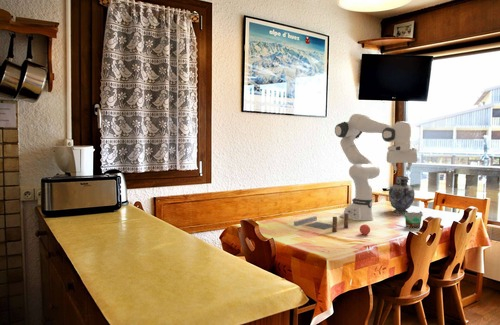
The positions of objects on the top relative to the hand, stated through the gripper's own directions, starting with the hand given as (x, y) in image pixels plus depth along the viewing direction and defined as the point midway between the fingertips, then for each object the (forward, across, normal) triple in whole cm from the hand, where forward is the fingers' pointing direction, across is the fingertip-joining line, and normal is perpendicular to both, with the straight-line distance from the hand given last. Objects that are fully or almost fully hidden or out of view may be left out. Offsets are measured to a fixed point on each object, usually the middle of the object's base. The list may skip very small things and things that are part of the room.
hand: (401, 170), depth 231 cm
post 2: (+37, +30, -14) cm, 50 cm away
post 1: (+37, +42, -6) cm, 57 cm away
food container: (+38, -15, -4) cm, 41 cm away
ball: (+35, +28, +4) cm, 45 cm away
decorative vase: (+37, -41, -49) cm, 74 cm away
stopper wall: (+37, +49, -32) cm, 69 cm away
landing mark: (+37, +43, -22) cm, 61 cm away
